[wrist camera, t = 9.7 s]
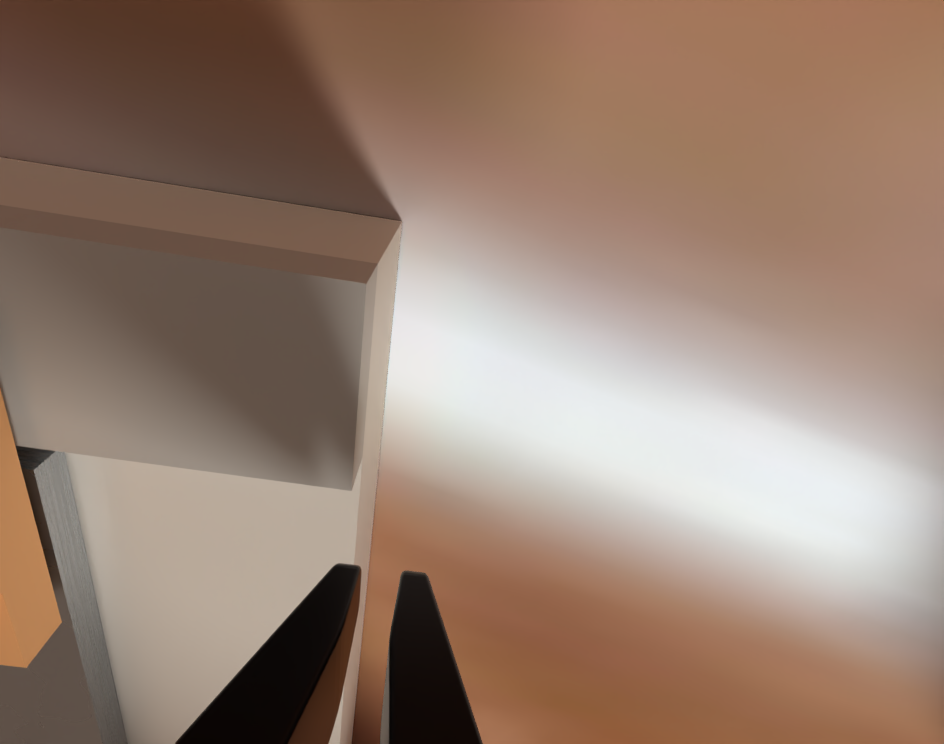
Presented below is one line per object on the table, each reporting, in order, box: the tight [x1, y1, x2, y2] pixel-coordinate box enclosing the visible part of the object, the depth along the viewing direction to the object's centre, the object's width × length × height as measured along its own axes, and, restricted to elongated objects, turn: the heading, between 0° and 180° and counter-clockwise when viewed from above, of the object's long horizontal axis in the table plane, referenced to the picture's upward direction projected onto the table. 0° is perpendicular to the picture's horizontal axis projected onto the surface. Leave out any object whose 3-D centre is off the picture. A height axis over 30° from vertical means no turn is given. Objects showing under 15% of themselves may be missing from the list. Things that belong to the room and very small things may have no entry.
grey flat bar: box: [0, 446, 128, 744], centre depth 14 cm, size 15×4×1 cm, turn 171°
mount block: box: [0, 157, 402, 744], centre depth 14 cm, size 21×15×6 cm
